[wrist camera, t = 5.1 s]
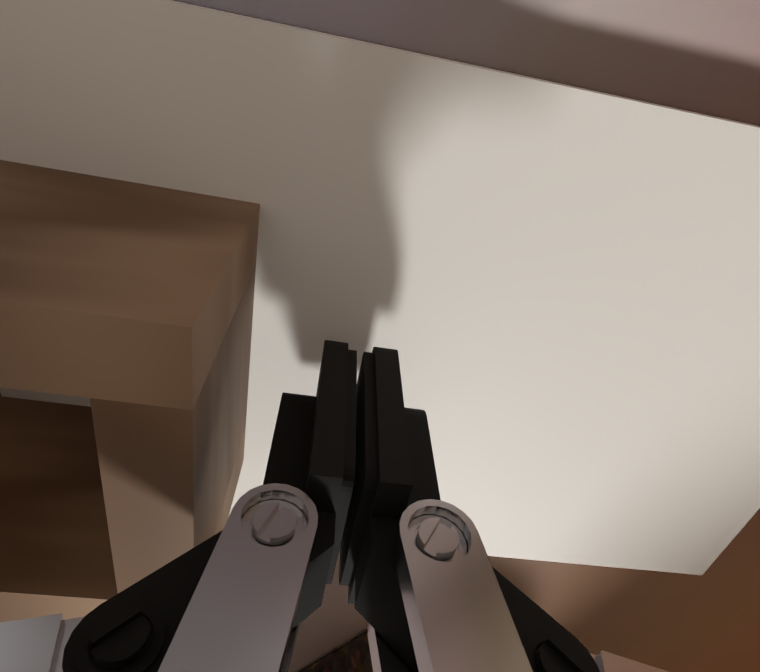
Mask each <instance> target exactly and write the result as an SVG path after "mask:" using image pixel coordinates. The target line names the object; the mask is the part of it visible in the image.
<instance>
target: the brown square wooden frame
mask: <svg viewBox="0 0 760 672" xmlns="http://www.w3.org/2000/svg"><path fill="white" fill-rule="evenodd" d="M259 210H260V204H258V203H252V202H246V201H240V200H234V199H228V198H223V197H217V196H211V195H205V194H199V193H193V192H187V191H181V190H175V189H170V188H164V187H158V186H152V185H146V184H140V183H134V182H128V181H123V180H117V179H111V178H105V177H99V176H93V175H87V174H81V173H75V172H70V171H64V170H58V169H52V168H46V167H40V166H34V165H28V164H22V163H17V162H11V161H5V160H0V387H2V388H10V389H18V390H27V391H35V392H44V393H52V394H61V395H69V396H77V397H86V398H90V404H91V407H89V406H80V405H72V404H63V403H55V402H46V401H37V400H29V399H20V398H12V397H3V396H1V393H0V623H1V622H7V621H14V620H21V619H28V618H35V617H41V616H48V615H55V614H63V618H64V620H65V619H72V618H78V617H85V616H86V615H87V614H88V613H90V612H91V611H92V610H94V609H95V608H96V607H97V606H99V605H100V604H102V603H103V602H105V601H107V600H108V599H110V598H112V597H113V596H115V595H117V594H118V593H120V592H122V591H123V590H125V589H126V588H128V587H130V586H131V585H133V584H135V583H136V582H138V581H140V580H141V579H143V578H145V577H146V576H148V575H149V574H151V573H153V572H154V571H156V570H158V569H159V568H161V567H163V566H164V565H166V564H168V563H169V562H171V561H173V560H174V559H176V558H177V557H179V556H181V555H182V554H184V553H186V552H187V551H189V550H191V549H192V548H194V547H196V546H197V545H199V544H201V543H202V542H204V541H205V540H207V539H209V538H210V537H212V536H214V535H215V534H217V533H219V532H220V531H222V530H223V528H224V526H225V524H226V522H227V520H228V517H229V513H230V509H231V505H232V502H233V498H234V494H235V490H236V487H237V483H238V479H239V475H240V472H241V468H242V464H243V460H244V445H245V430H246V414H247V398H248V383H249V367H250V351H251V336H252V320H253V304H254V288H255V273H256V257H257V241H258V226H259Z"/></svg>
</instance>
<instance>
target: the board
mask: <svg viewBox="0 0 760 672" xmlns="http://www.w3.org/2000/svg"><path fill="white" fill-rule="evenodd" d="M0 160H5V161H11V162H17V163H22V164H28V165H34V166H40V167H46V168H52V169H58V170H64V171H70V172H75V173H81V174H87V175H93V176H99V177H105V178H111V179H117V180H123V181H128V182H134V183H140V184H146V185H152V186H158V187H164V188H170V189H175V190H181V191H187V192H193V193H199V194H205V195H211V196H217V197H223V198H228V199H234V200H240V201H246V202H252V203H258V204H260V210H259V226H258V241H257V257H256V273H255V288H254V304H253V320H252V336H251V351H250V367H249V383H248V398H247V414H246V430H245V445H244V460H243V464H242V468H241V472H240V475H239V479H238V483H237V487H236V490H235V494H234V498H233V502H232V505H231V509H230V513H231V511H232V509H233V507H234V505H235V504H236V502H237V501H238V499H239V498H240V497H241V496H242V495H244V494H245V493H246V492H248V491H249V490H251V489H253V488H255V487H258V486H260V485H263V482H264V477H265V472H266V467H267V463H268V458H269V453H270V449H271V444H272V439H273V434H274V430H275V425H276V420H277V415H278V411H279V406H280V401H281V397H282V393H283V392H284V393H292V394H300V395H309V396H316V393H317V387H318V380H319V373H320V367H321V360H322V354H323V347H324V341H325V340H330V341H338V342H345V343H348V349H349V350H357V381H358V376H359V371H360V366H361V361H362V356H363V353H364V352H371V353H372V350H373V347H381V348H388V349H395V350H398V355H399V364H400V373H401V382H402V391H403V400H404V407H405V408H413V409H421V410H424V411H425V412H426V415H427V421H428V427H429V433H430V439H431V445H432V451H433V457H434V463H435V469H436V475H437V481H438V487H439V493H440V499H441V500H442V501H444V502H447V503H450V504H453V505H454V506H456V507H457V508H459V509H460V510H462V511H463V512H464V513H465V514H466V515H467V516H468V517H469V518H470V519H471V520H472V521H473V523H474V525H475V527H476V528H477V530H478V532H479V535H480V538H481V540H482V543H483V545H484V548H485V550H486V553H487V555H488V556H495V557H506V558H517V559H528V560H539V561H550V562H561V563H572V564H583V565H594V566H605V567H616V568H627V569H639V570H650V571H661V572H672V573H683V574H694V575H703V574H704V573H705V571H706V570H707V569H708V568H709V567H710V566H711V564H712V563H713V562H714V561H715V560H716V559H717V557H718V556H719V555H720V554H721V553H722V552H723V550H724V549H725V548H726V547H727V546H728V545H729V543H730V542H731V541H732V540H733V539H734V538H735V536H736V535H737V534H738V533H739V532H740V531H741V529H742V528H743V527H744V526H745V525H746V524H747V522H748V521H749V520H750V519H751V518H752V517H753V515H754V514H755V513H756V512H757V511H758V510H759V508H760V126H757V125H753V124H748V123H743V122H739V121H734V120H729V119H725V118H720V117H715V116H711V115H706V114H701V113H697V112H692V111H687V110H683V109H678V108H673V107H669V106H664V105H659V104H655V103H650V102H645V101H641V100H636V99H631V98H627V97H622V96H617V95H613V94H608V93H603V92H599V91H594V90H589V89H585V88H580V87H575V86H571V85H566V84H561V83H557V82H552V81H547V80H543V79H538V78H533V77H529V76H524V75H519V74H515V73H510V72H505V71H500V70H496V69H491V68H486V67H482V66H477V65H472V64H468V63H463V62H458V61H454V60H449V59H444V58H440V57H435V56H430V55H426V54H421V53H416V52H412V51H407V50H402V49H398V48H393V47H388V46H384V45H379V44H374V43H370V42H365V41H360V40H356V39H351V38H346V37H342V36H337V35H332V34H328V33H323V32H318V31H314V30H309V29H304V28H300V27H295V26H290V25H286V24H281V23H276V22H272V21H267V20H262V19H258V18H253V17H248V16H244V15H239V14H234V13H229V12H225V11H220V10H215V9H211V8H206V7H201V6H197V5H192V4H187V3H183V2H178V1H173V0H0ZM0 393H1V396H3V397H12V398H20V399H29V400H37V401H46V402H55V403H63V404H72V405H80V406H89V407H91V404H90V398H86V397H77V396H69V395H61V394H52V393H44V392H35V391H27V390H18V389H10V388H2V387H0ZM230 513H229V515H230Z"/></svg>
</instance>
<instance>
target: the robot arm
mask: <svg viewBox="0 0 760 672" xmlns="http://www.w3.org/2000/svg"><path fill="white" fill-rule="evenodd" d="M339 548H340V569H339V584H340V585H349V593H348V603H355V609H356V610H357V611H358V612H359V613H360V614H361V615H362V616H363V617H364V618H365V619H366V620H367V621H368V641H369V648H370V654H371V661H372V668H373V672H669V671H666V670H663V669H660V668H657V667H653V666H650V665H647V664H644V663H641V662H638V661H634V660H631V659H628V658H625V657H622V656H619V655H615V654H612V653H609V652H606V651H603V650H601V651H600V652H599V653H598V655H595V654H592V653H589V651H588V650H587V649H586V648H585V647H584V646H583V645H582V644H581V643H580V642H579V640H578V639H577V638H575V637H574V636H573V635H572V634H571V633H570V632H568V631H567V630H566V629H565V628H564V627H563V626H561V625H560V624H559V623H558V622H557V621H555V620H554V619H553V618H552V617H551V616H550V615H548V614H547V613H546V612H545V611H544V610H543V609H541V608H540V607H539V606H538V605H537V604H535V603H534V602H533V601H532V600H531V599H530V598H528V597H527V596H526V595H525V594H524V593H522V592H521V591H520V590H519V589H518V588H517V587H515V586H514V585H513V584H512V583H511V582H510V581H508V580H507V579H506V578H505V577H504V576H502V575H501V574H500V573H499V572H498V571H497V570H495V569H494V568H493V567H492V566H491V563H490V561H489V558H488V555H487V553H486V550H485V548H484V545H483V543H482V540H481V538H480V535H479V532H478V530H477V528H476V527H475V525H474V523H473V521H472V520H471V519H470V518H469V517H468V516H467V515H466V514H465V513H464V512H463V511H462V510H460V509H459V508H457V507H456V506H454V505H453V504H450V503H447V502H444V501H442V500H441V499H440V493H439V487H438V481H437V475H436V469H435V463H434V457H433V451H432V445H431V439H430V433H429V427H428V421H427V415H426V412H425V411H424V410H421V409H413V408H405V407H404V400H403V391H402V382H401V373H400V364H399V355H398V350H395V349H388V348H381V347H373V350H372V353H371V352H364V353H363V356H362V361H361V366H360V371H359V376H358V381H357V350H349V349H348V343H345V342H338V341H330V340H325V341H324V347H323V354H322V360H321V367H320V373H319V380H318V387H317V393H316V396H309V395H300V394H292V393H284V392H283V393H282V397H281V401H280V406H279V411H278V415H277V420H276V425H275V430H274V434H273V439H272V444H271V449H270V453H269V458H268V463H267V467H266V472H265V477H264V482H263V485H260V486H258V487H255V488H253V489H251V490H249V491H248V492H246V493H245V494H244V495H242V496H241V497H240V498H239V499H238V501H237V502H236V504H235V505H234V507H233V509H232V511H231V513H230V515H229V517H228V520H227V522H226V524H225V526H224V528H223V530H222V531H220V532H219V533H217V534H215V535H214V536H212V537H210V538H209V539H207V540H205V541H204V542H202V543H201V544H199V545H197V546H196V547H194V548H192V549H191V550H189V551H187V552H186V553H184V554H182V555H181V556H179V557H177V558H176V559H174V560H173V561H171V562H169V563H168V564H166V565H164V566H163V567H161V568H159V569H158V570H156V571H154V572H153V573H151V574H149V575H148V576H146V577H145V578H143V579H141V580H140V581H138V582H136V583H135V584H133V585H131V586H130V587H128V588H126V589H125V590H123V591H122V592H120V593H118V594H117V595H115V596H113V597H112V598H110V599H108V600H107V601H105V602H103V603H102V604H100V605H99V606H97V607H96V608H95V609H94V610H92V611H91V612H90V613H88V614H87V615H86V616H85V617H78V618H72V619H65V620H64V618H63V614H55V615H48V616H41V617H35V618H28V619H21V620H14V621H7V622H1V623H0V672H288V668H289V664H290V660H291V656H292V652H293V648H294V644H295V640H296V636H297V632H298V627H299V624H300V623H301V622H302V621H303V620H304V619H305V618H307V617H308V616H309V615H310V614H311V613H312V612H314V611H315V610H316V609H317V608H318V607H320V606H321V603H322V598H323V593H324V589H325V584H331V583H332V579H333V575H334V570H335V566H336V561H337V557H338V553H339Z"/></svg>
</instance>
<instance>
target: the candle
mask: <svg viewBox="0 0 760 672" xmlns="http://www.w3.org/2000/svg"><path fill="white" fill-rule="evenodd" d="M301 672H373V668H372V661H371V654H370V648H369V641H368V632H366V633H364V634H363V635H361V636H359V637H358V638H356V639H355V640H353V641H352V642H350V643H349V644H347V645H346V646H345V647H343V648H341V649H339V650H337V651H335V652H333V653H331V654H329V655H327V656H326V657H324V658H323V659H321V660H319V661H318V662H316V663H315V664H313V665H312V666H310V667H308V668H306V669H305V670H303V671H301Z"/></svg>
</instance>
